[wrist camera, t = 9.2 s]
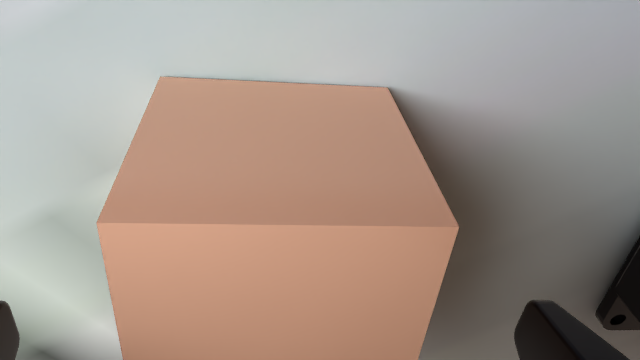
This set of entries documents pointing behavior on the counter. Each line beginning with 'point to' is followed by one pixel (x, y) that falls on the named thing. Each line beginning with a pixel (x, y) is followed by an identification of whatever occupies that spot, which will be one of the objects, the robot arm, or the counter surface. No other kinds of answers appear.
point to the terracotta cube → (273, 226)
